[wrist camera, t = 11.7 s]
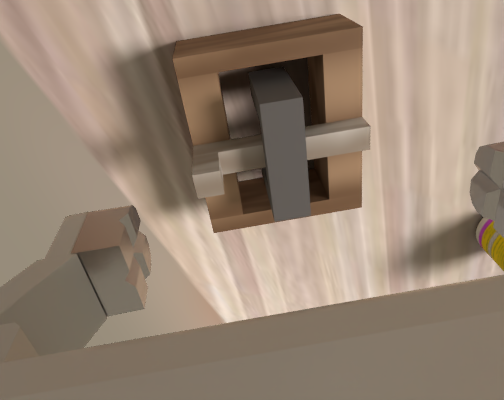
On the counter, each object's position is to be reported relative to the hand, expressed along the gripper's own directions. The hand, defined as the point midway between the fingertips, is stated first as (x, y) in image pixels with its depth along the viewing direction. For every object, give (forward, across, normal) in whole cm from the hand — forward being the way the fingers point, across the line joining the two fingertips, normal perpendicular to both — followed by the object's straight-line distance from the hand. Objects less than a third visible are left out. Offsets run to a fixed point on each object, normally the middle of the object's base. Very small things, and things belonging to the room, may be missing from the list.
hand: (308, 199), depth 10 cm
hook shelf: (+29, -2, +9) cm, 31 cm away
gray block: (+27, -2, +10) cm, 29 cm away
